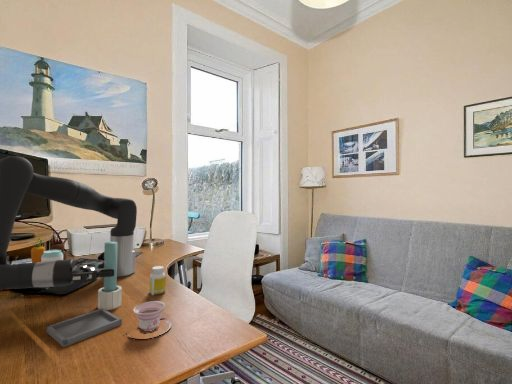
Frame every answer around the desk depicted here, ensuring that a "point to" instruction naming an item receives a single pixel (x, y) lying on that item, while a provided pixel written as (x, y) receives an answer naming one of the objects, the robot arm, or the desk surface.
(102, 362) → the desk surface
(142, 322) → the teacup
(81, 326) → the tray
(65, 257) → the wooden figurine
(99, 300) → the cup
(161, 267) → the supplement bottle
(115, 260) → the dowel
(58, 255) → the can
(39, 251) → the carrot
